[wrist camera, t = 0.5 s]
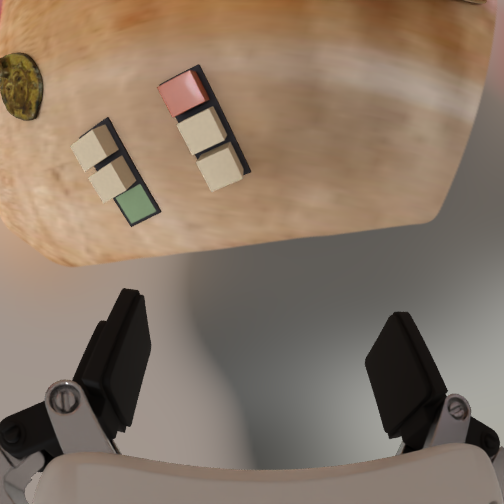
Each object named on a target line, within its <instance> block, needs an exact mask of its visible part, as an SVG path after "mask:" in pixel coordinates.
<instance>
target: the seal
mask: <svg viewBox="0 0 504 504" xmlns="http://www.w3.org/2000/svg"><path fill="white" fill-rule="evenodd" d="M42 91H43V85H42V78H41V75H40V72H39V70H38V68H37V66H36V64H35V63H34V62H33V61H32V59H31V58H30V57H28V56H27V55H26V54H23V53H13V54H9V55H6V56H4V57H3V58H0V92H1V95H2V99H3V102H4V104H5V106H6V108H7V110H8V112H9V113H10V114H11V115H13V116H15V117H16V118H19V119H21V120H26V121H27V120H33V119H35V118H36V116H37V111H38V106H39V104H40V103H41V99H42Z"/></svg>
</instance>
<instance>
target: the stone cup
mask: <svg viewBox="0 0 504 504" xmlns="http://www.w3.org/2000/svg"><path fill="white" fill-rule="evenodd" d="M464 1H468V2H473V3H478V4H484V3H486V1H487V0H464Z"/></svg>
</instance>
